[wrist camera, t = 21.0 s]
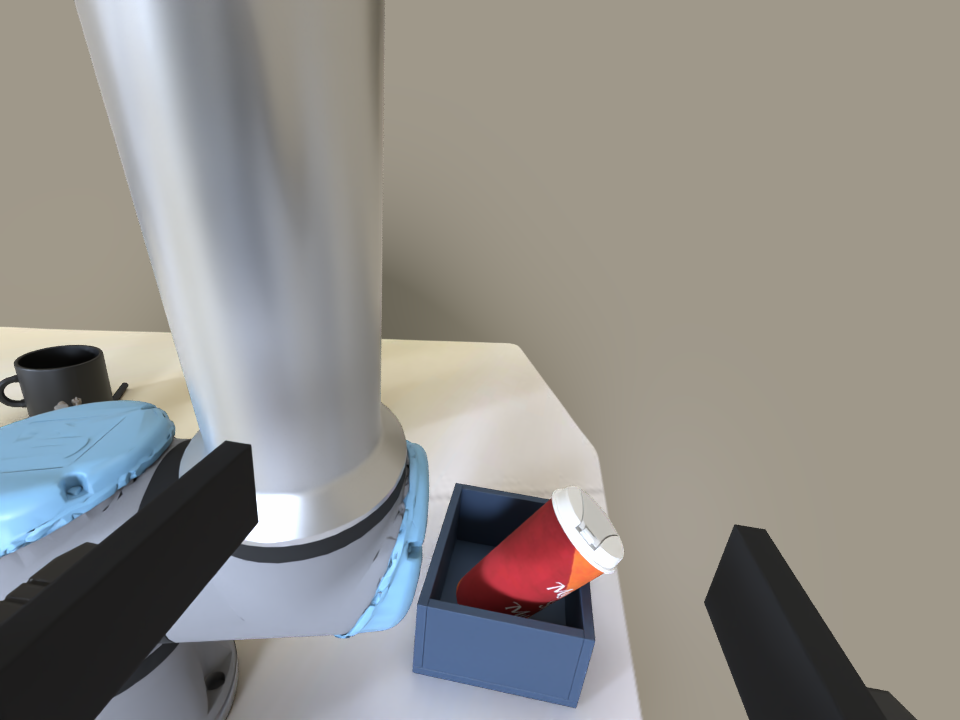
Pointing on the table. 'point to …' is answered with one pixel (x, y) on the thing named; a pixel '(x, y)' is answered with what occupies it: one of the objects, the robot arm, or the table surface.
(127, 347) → the table surface
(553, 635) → the waste bin
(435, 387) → the table surface
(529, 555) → the paper cup
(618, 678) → the table surface
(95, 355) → the mug
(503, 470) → the table surface
